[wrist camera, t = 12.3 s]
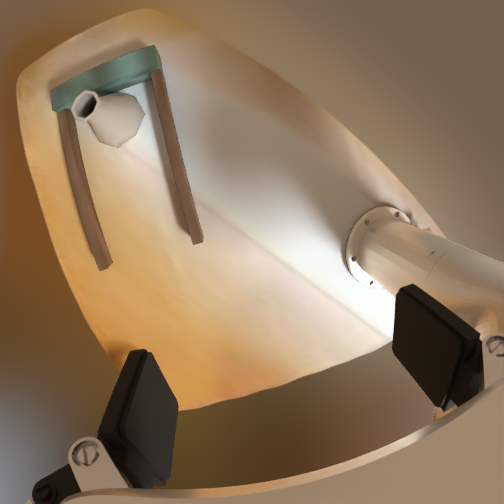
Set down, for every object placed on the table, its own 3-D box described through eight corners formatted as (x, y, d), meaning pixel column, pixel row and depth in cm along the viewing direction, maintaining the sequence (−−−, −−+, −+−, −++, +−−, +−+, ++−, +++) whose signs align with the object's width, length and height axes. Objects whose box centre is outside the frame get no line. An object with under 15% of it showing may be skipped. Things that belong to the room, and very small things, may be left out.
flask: (119, 157, 30) (85, 156, 21) (83, 127, 28) (44, 118, 19) (155, 112, 29) (133, 93, 20) (117, 83, 27) (87, 59, 18)
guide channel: (160, 56, 27) (154, 44, 23) (203, 237, 35) (202, 245, 31) (64, 96, 26) (50, 90, 22) (105, 264, 34) (95, 275, 30)
